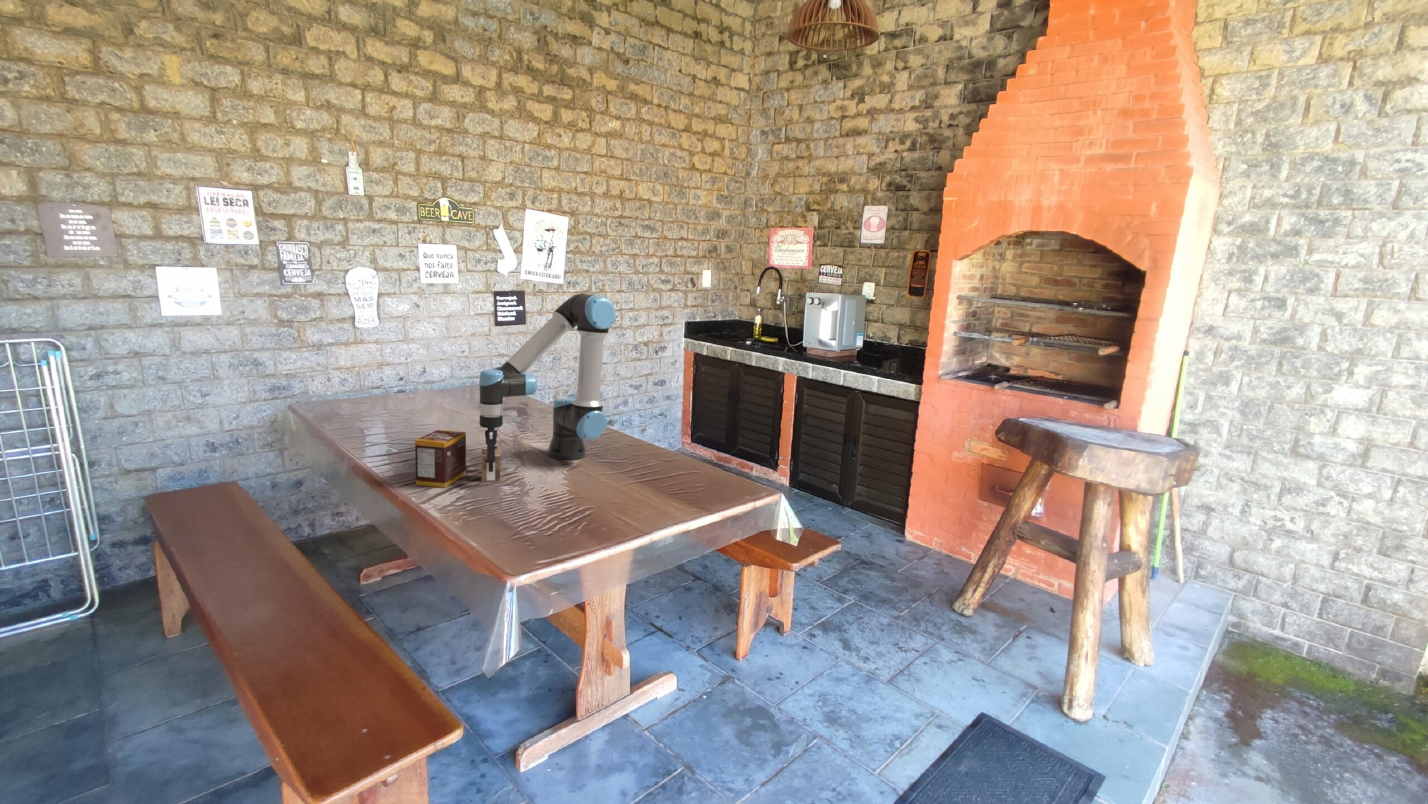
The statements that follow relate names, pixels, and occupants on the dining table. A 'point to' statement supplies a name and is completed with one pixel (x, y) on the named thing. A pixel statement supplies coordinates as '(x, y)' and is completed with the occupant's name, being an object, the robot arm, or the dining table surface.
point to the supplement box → (440, 458)
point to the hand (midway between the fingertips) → (490, 473)
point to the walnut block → (484, 465)
